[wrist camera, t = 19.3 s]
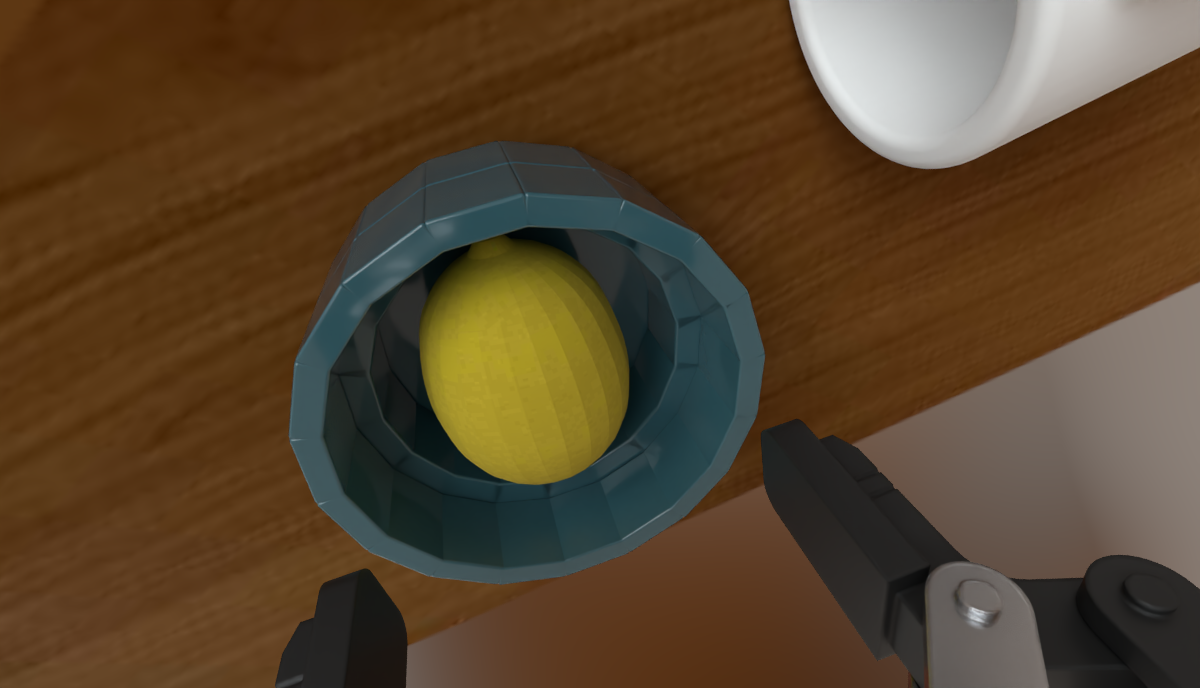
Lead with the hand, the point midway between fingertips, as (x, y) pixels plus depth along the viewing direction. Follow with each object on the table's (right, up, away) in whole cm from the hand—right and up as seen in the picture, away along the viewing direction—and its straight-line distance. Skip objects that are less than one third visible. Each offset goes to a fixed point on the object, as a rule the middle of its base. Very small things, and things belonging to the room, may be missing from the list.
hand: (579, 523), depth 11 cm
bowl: (-2, +5, +8) cm, 9 cm away
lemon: (-1, -1, +7) cm, 7 cm away
